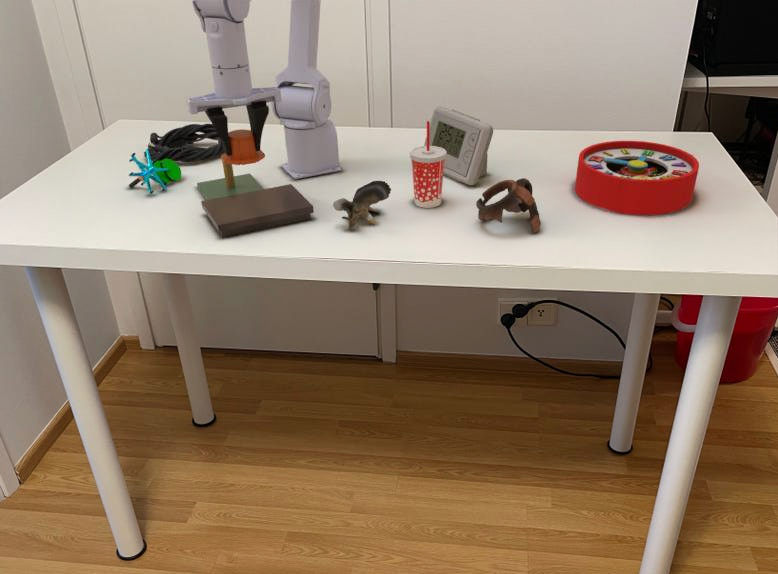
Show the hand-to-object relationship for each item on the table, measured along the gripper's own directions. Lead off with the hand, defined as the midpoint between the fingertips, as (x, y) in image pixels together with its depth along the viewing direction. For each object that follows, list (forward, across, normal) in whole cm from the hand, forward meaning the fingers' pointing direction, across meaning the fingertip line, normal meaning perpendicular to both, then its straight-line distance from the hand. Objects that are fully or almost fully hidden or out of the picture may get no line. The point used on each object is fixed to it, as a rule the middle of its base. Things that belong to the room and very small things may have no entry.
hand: (242, 151), depth 121 cm
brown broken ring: (+10, +36, -25) cm, 46 cm away
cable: (+10, -3, +34) cm, 35 cm away
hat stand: (+10, -1, +10) cm, 14 cm away
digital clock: (+10, +39, -1) cm, 41 cm away
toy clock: (+10, +62, -24) cm, 68 cm away
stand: (+10, 0, -4) cm, 11 cm away
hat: (+1, 0, 0) cm, 1 cm away
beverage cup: (+10, +28, -11) cm, 32 cm away
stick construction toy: (+10, -13, +20) cm, 26 cm away
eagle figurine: (+10, +15, -13) cm, 23 cm away
